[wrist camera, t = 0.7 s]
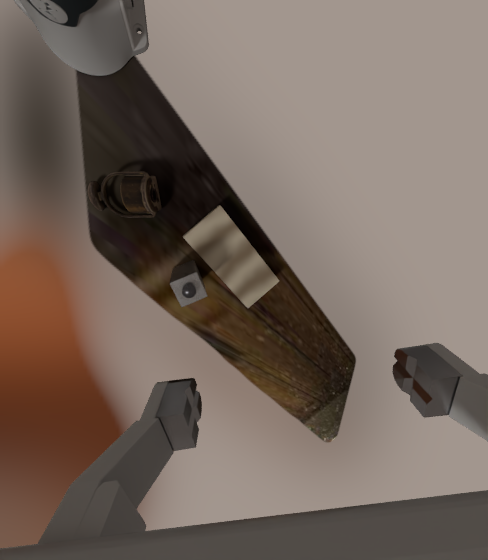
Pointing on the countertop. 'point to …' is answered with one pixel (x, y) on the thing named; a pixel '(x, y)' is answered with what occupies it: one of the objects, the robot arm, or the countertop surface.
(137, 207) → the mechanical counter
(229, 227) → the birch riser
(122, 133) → the countertop surface
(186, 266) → the aluminium block
